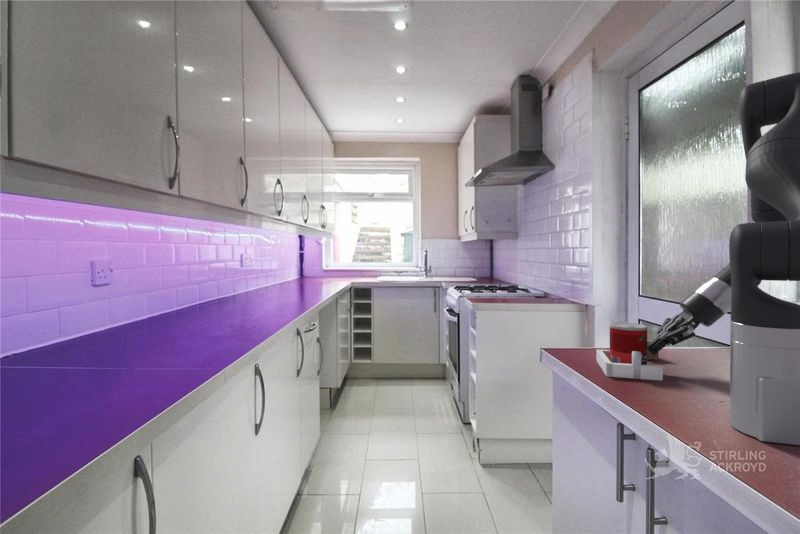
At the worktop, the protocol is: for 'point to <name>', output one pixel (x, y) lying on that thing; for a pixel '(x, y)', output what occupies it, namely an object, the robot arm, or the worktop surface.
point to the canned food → (627, 342)
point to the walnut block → (650, 355)
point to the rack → (628, 367)
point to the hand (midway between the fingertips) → (649, 351)
